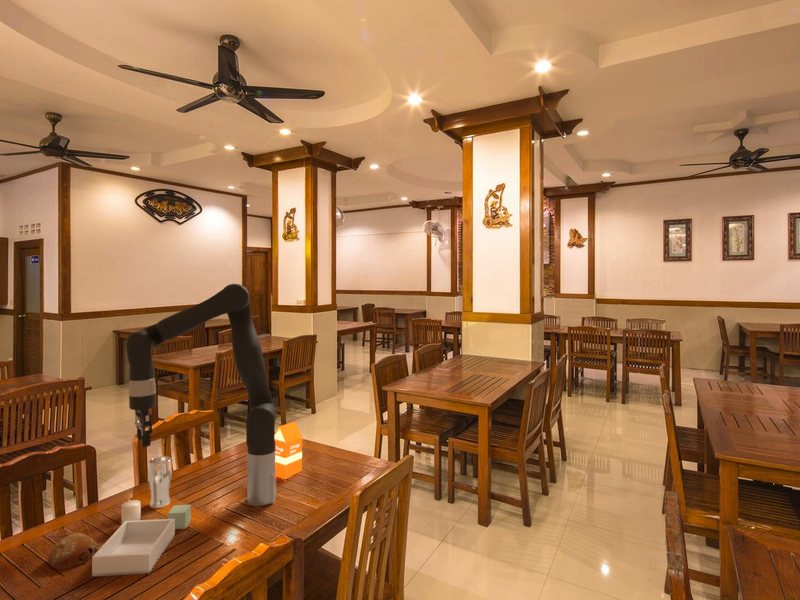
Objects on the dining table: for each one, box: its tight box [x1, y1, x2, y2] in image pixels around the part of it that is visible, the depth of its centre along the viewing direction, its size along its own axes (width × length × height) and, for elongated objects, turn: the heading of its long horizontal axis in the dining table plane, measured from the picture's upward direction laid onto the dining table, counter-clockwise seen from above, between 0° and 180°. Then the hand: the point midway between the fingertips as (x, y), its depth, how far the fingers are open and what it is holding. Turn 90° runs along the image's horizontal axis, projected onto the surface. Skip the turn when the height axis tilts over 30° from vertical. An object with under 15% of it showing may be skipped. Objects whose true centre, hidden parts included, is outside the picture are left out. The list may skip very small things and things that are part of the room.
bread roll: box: [48, 532, 99, 570], centre depth 122 cm, size 10×10×8 cm
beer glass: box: [147, 455, 173, 509], centre depth 152 cm, size 7×7×15 cm
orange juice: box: [275, 421, 303, 480], centre depth 177 cm, size 8×9×20 cm
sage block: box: [167, 504, 192, 530], centre depth 139 cm, size 5×5×5 cm
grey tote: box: [91, 518, 176, 577], centre depth 124 cm, size 14×18×5 cm
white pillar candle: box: [120, 499, 142, 526], centre depth 138 cm, size 5×5×7 cm
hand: (143, 442), depth 146 cm, fingers open, 8 cm apart
